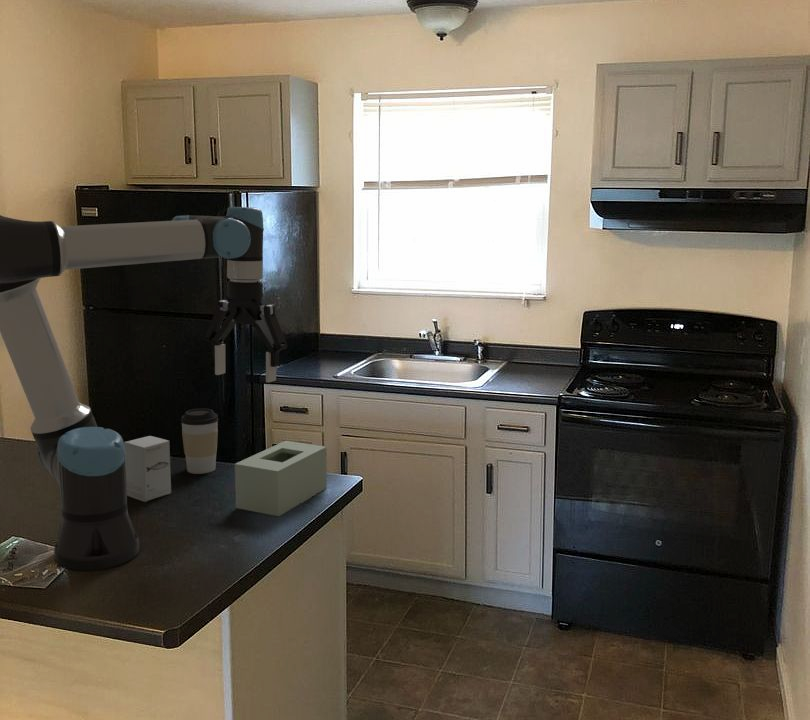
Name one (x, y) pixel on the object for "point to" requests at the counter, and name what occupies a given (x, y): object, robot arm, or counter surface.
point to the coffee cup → (200, 440)
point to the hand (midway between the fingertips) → (245, 377)
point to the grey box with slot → (280, 477)
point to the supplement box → (147, 468)
